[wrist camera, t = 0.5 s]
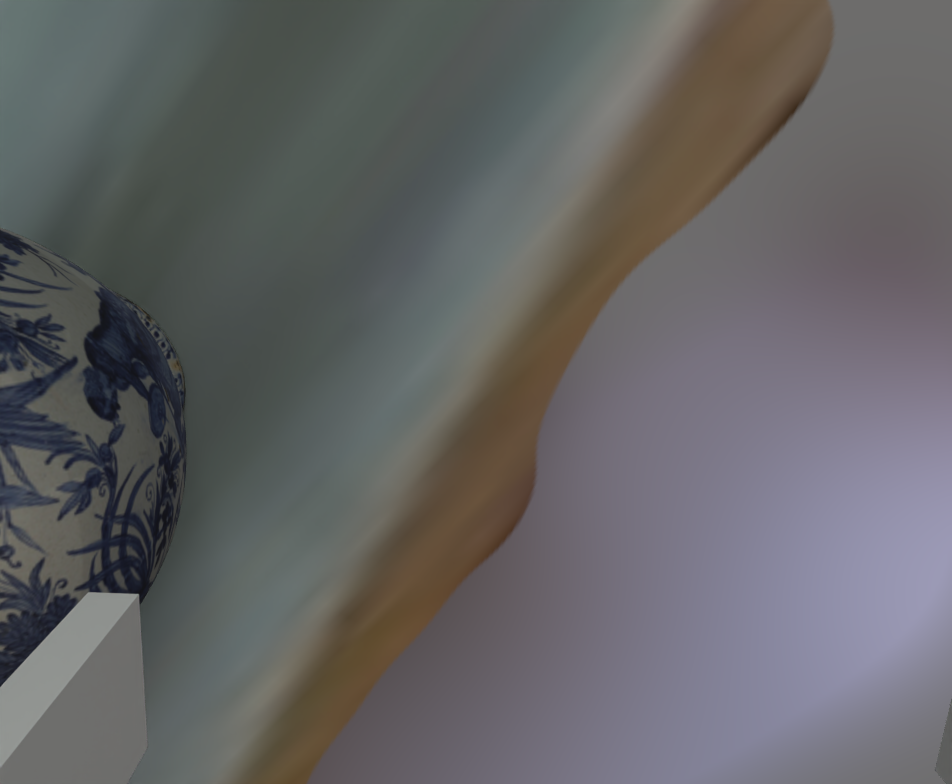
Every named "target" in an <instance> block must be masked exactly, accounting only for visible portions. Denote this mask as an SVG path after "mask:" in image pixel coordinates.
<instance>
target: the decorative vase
mask: <svg viewBox="0 0 952 784" xmlns="http://www.w3.org/2000/svg"><path fill="white" fill-rule="evenodd" d="M184 403H185V383H184V375H183V371H182V367H181V365H180V363H179V359H178V356H177V354H176V351H175V349H174V347H173V346H172V344H171V342H170V341H169V339H168V337H167V336H166V334H165V333H164V332H163V331H162V329H161V328H160V327H159V325H158V324H157V323H156V322H155V321H154V320H153V319H152V318H151V317H150V316H149V315H148V314H147V313H146V312H145V311H144V310H143V309H141V308H140V307H139V306H137V305H136V304H134V303H133V302H131V301H129V300H128V299H126V298H125V297H123V296H121V295H119V294H117V293H116V292H114V291H111V290H110V289H109V288H107V287H106V286H105V285H103V284H102V283H101V282H100V281H98V280H97V279H96V278H94V277H93V276H92V275H90V274H89V273H87V272H86V271H84V270H83V269H81V268H80V267H78V266H77V265H75V264H73V263H72V262H70V261H68V260H67V259H65V258H63V257H62V256H60V255H58V254H56V253H55V252H53V251H51V250H49V249H47V248H45V247H43V246H41V245H39V244H37V243H35V242H33V241H31V240H29V239H27V238H25V237H22V236H20V235H18V234H15V233H13V232H10V231H8V230H5V229H3V228H0V687H1V686H2V685H3V683H4V682H5V681H6V680H7V679H8V678H9V677H10V676H11V675H12V674H13V673H14V672H15V671H16V669H17V668H18V667H19V666H20V665H21V664H22V663H23V662H24V661H25V660H26V659H27V658H28V657H29V655H30V654H31V653H32V652H33V651H34V650H35V649H36V648H37V647H38V646H39V645H40V644H41V643H42V641H43V640H44V639H45V638H46V637H47V636H48V635H49V634H50V633H51V632H52V631H53V630H54V629H55V628H56V626H57V625H58V624H59V623H60V622H61V621H62V620H63V619H64V618H65V617H66V616H67V615H68V614H69V612H70V611H71V610H72V609H73V608H74V607H75V606H76V605H77V604H78V603H79V602H80V601H81V600H82V598H83V597H84V596H85V595H86V594H87V593H88V592H96V593H123V594H139V604H141V602H142V601H143V599H144V597H145V596H146V594H147V592H148V591H149V589H150V587H151V585H152V584H153V582H154V580H155V578H156V576H157V574H158V572H159V570H160V568H161V566H162V563H163V561H164V559H165V556H166V554H167V552H168V549H169V546H170V544H171V541H172V537H173V534H174V531H175V528H176V524H177V521H178V517H179V512H180V508H181V503H182V498H183V492H184V485H185V474H186V431H185V422H184V416H183V409H184Z"/></svg>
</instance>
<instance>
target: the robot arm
mask: <svg viewBox="0 0 952 784" xmlns="http://www.w3.org/2000/svg"><path fill="white" fill-rule="evenodd" d="M147 748H148V741H147V724H146V707H145V690H144V673H143V655H142V638H141V621H140V604H139V594H123V593H96V592H88V593H87V594H86V595H85V596H84V597H83V598H82V600H81V601H80V602H79V603H78V604H77V605H76V606H75V607H74V608H73V609H72V610H71V611H70V612H69V614H68V615H67V616H66V617H65V618H64V619H63V620H62V621H61V622H60V623H59V624H58V625H57V626H56V628H55V629H54V630H53V631H52V632H51V633H50V634H49V635H48V636H47V637H46V638H45V639H44V640H43V641H42V643H41V644H40V645H39V646H38V647H37V648H36V649H35V650H34V651H33V652H32V653H31V654H30V655H29V657H28V658H27V659H26V660H25V661H24V662H23V663H22V664H21V665H20V666H19V667H18V668H17V669H16V671H15V672H14V673H13V674H12V675H11V676H10V677H9V678H8V679H7V680H6V681H5V682H4V683H3V685H2V686H1V687H0V784H128V782H129V780H130V778H131V776H132V775H133V773H134V771H135V769H136V767H137V766H138V764H139V762H140V760H141V759H142V757H143V755H144V753H145V751H146V750H147ZM935 771H936V772H937V773H938V775H939V776H940V777H941V778H942V779H943V781H944V782H945V783H946V784H952V700H951V705H950V708H949V712H948V717H947V721H946V725H945V729H944V733H943V738H942V742H941V747H940V750H939V754H938V759H937V763H936V767H935Z"/></svg>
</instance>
